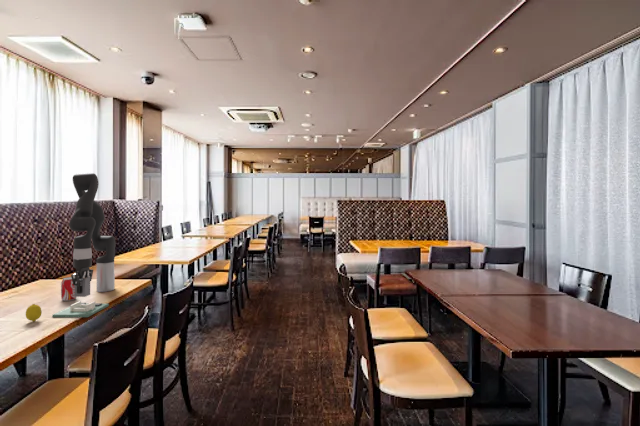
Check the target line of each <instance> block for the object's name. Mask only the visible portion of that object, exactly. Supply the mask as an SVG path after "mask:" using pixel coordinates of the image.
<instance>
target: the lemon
mask: <svg viewBox="0 0 640 426" xmlns="http://www.w3.org/2000/svg"><path fill="white" fill-rule="evenodd" d="M42 311H43V310H42V307H41V306H40V305H38V304H35V303H32V304H31V305H29V306H28V307H27V309H26V311H25V317H26V319H27V320H28V321H32V322H36V321H37V320H38V319H40V318H41V317H42Z"/></svg>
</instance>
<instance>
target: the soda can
mask: <svg viewBox="0 0 640 426" xmlns="http://www.w3.org/2000/svg"><path fill="white" fill-rule="evenodd" d="M60 297H61V301H64V302H69V301H70V302H71V301H74V300H75V299H77V298H78V297H75V285H73V282H72V277H71V276H70V277H69V276H68V277H63V278H62V280H61V282H60Z"/></svg>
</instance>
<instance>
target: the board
mask: <svg viewBox="0 0 640 426" xmlns="http://www.w3.org/2000/svg"><path fill="white" fill-rule="evenodd" d="M109 306H110V304H109V303H102V302H96V300H95V301H92V302H90V303H87V302H81V301H80V300H79V301H77V302H75V303H72V304H70V306H69V307H66V308H64V309H61V310H59V311H58V312H56V313H53V314H52V318H89V317H92V316H93V315H94V314H96V313H99V312H100V311H102V310H104V309H106V308H108V307H109Z"/></svg>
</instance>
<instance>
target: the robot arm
mask: <svg viewBox="0 0 640 426" xmlns="http://www.w3.org/2000/svg"><path fill="white" fill-rule="evenodd" d="M72 184H73V186H74V189H75V191H76V194H77V196H78V200H77V201H76V204H75V205H76V206H75V212H74V213H73V215H72V217H71V218H70V220H69V223H68V226H69V228H70V230H71V231H72V232H85V234H83V235H78V236H76V237H74V239H73V253H72V255H73V257H72V258H73V259H72V261H73V263H72V264H73V266H72V267H73V269H75V273H73V274H71V275H70V277H72V282H73V285H75V286H77V294H81V293H82V284H83V281H84V278H85V277H90V282H91V281H92V280H93V279H92V278H93V273H94V269H93V268H92V269H91V268H90V267H92V264H93V257H92V256H93V255H92V254H93V253H92V250H93V249H94V250H95V251H98V252H105V254H104V255H102V256H99V257H97V258H96V292H98V293H99V292H101V293H102V292H103V293H106V292H111V291H114V290H115V285H116V283H115V281H116V280H115V276H116V275H115V256H116V239H115V238H116V237H114V236H113V235H101V233H100V230H101V228H102V226H103V224H104V223H105V220H106V219H105V218H106V215H105V214H104V213H105V212H104V210H103V207H102V206H101V205H100V204H99V203H98V202H97V201H95V198H96V196H97V193H98V189H99V178H98V175H96V173H91V172H90V173H89V172H87V173H78V174H77V173H76V174H74V175H73V176H72ZM92 246H93V249H92ZM79 278H82V279H79ZM75 281H76V282H75Z"/></svg>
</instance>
